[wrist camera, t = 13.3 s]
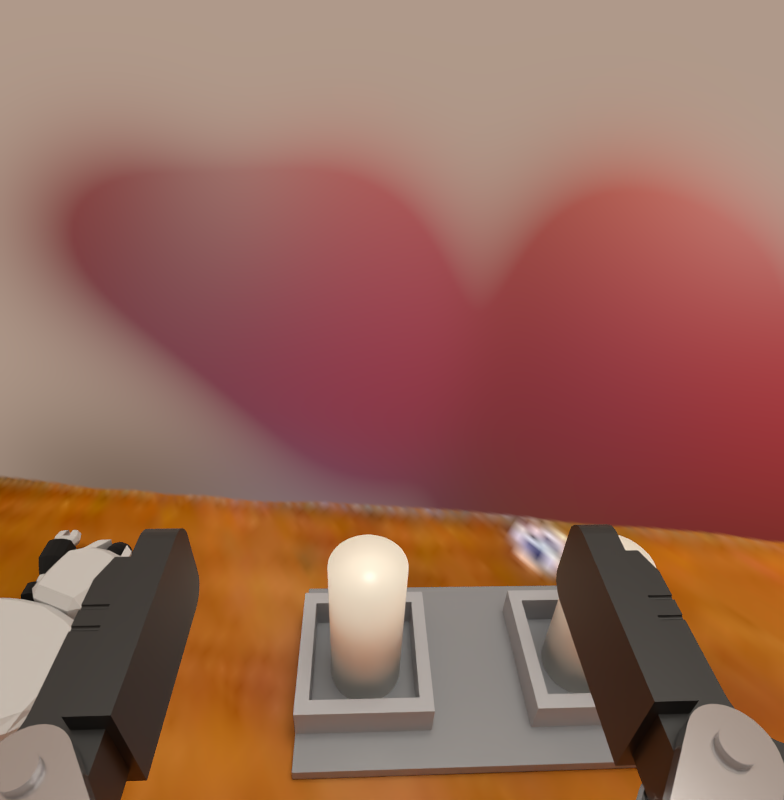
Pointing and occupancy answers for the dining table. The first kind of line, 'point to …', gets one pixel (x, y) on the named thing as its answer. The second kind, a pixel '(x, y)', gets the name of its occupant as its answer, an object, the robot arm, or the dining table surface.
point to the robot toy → (45, 620)
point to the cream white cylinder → (366, 615)
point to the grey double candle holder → (454, 691)
